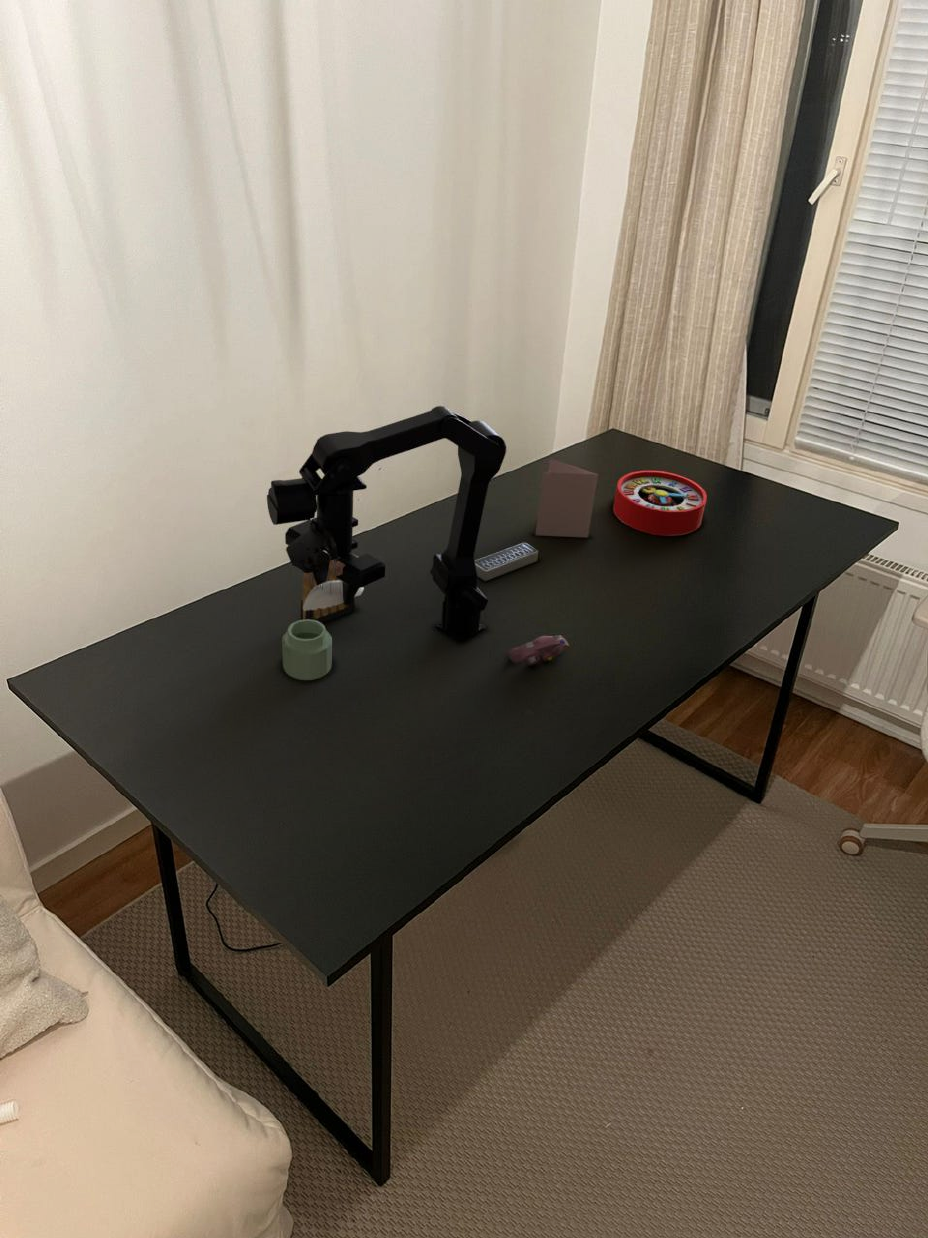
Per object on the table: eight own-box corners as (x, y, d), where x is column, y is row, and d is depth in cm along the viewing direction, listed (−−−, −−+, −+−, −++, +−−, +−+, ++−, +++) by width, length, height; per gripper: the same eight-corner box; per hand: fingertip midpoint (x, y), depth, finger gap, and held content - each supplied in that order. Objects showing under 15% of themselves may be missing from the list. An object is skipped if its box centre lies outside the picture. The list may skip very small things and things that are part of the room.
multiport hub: (470, 571, 201) (471, 561, 199) (523, 551, 209) (524, 541, 208) (485, 581, 198) (485, 571, 197) (538, 560, 206) (539, 550, 205)
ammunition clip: (305, 628, 181) (304, 572, 174) (300, 623, 182) (299, 567, 175) (355, 610, 186) (355, 555, 180) (349, 605, 188) (350, 550, 181)
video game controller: (515, 676, 176) (527, 657, 170) (504, 654, 178) (517, 635, 172) (562, 663, 180) (576, 645, 174) (552, 642, 182) (565, 623, 176)
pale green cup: (341, 666, 172) (341, 631, 168) (304, 686, 167) (303, 650, 163) (310, 645, 176) (309, 610, 172) (273, 664, 171) (271, 628, 167)
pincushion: (353, 582, 174) (353, 554, 170) (373, 598, 170) (374, 570, 167) (293, 603, 167) (293, 574, 164) (313, 620, 163) (313, 591, 160)
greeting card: (589, 535, 216) (599, 473, 208) (573, 549, 211) (583, 485, 203) (543, 519, 221) (551, 457, 213) (527, 532, 216) (534, 469, 207)
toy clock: (612, 467, 232) (698, 473, 232) (608, 490, 235) (693, 496, 236) (622, 508, 215) (714, 515, 216) (618, 532, 219) (708, 538, 219)
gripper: (257, 507, 159) (260, 589, 168) (335, 553, 149) (334, 639, 158) (311, 487, 166) (312, 567, 175) (389, 530, 156) (385, 613, 165)
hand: (334, 596), depth 168 cm, fingers closed on pincushion, 6 cm apart
